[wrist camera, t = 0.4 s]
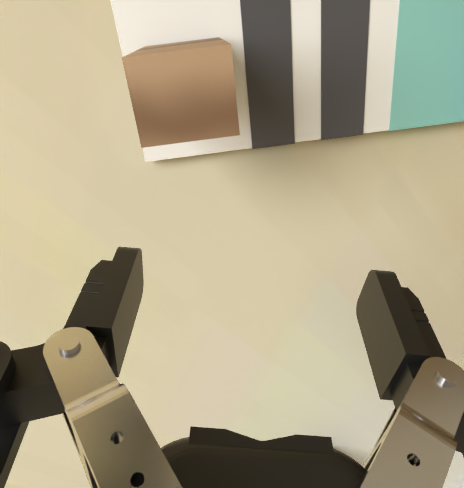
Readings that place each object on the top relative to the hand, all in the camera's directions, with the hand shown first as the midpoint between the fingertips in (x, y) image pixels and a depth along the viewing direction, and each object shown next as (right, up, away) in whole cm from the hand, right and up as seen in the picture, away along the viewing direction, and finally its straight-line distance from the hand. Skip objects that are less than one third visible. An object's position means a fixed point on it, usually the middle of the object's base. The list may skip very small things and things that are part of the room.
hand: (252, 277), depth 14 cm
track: (+5, +18, +21) cm, 28 cm away
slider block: (-4, +15, +19) cm, 25 cm away
